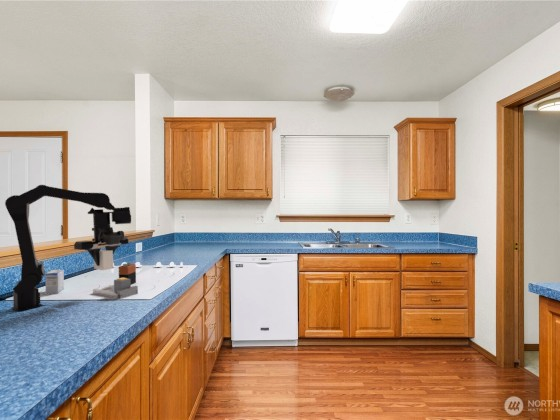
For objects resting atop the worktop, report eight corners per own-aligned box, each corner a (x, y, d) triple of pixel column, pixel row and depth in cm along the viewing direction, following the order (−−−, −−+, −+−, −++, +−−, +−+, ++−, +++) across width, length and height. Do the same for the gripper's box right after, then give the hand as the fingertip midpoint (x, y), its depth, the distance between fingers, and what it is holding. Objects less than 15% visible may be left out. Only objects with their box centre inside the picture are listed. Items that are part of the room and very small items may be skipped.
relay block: (121, 296, 120) (121, 280, 119) (114, 295, 122) (113, 279, 122) (130, 294, 123) (130, 277, 123) (123, 292, 125) (123, 276, 125)
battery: (118, 287, 136) (118, 264, 136) (127, 283, 143) (126, 261, 143) (128, 287, 136) (127, 264, 136) (136, 283, 142) (136, 261, 142)
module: (103, 270, 119) (102, 252, 119) (94, 269, 122) (93, 251, 122) (113, 268, 123) (112, 250, 123) (104, 267, 126) (103, 249, 126)
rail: (120, 300, 117) (120, 290, 117) (93, 294, 125) (92, 286, 125) (137, 294, 124) (137, 286, 124) (111, 290, 132) (110, 281, 132)
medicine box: (51, 290, 134) (51, 270, 133) (64, 289, 135) (63, 269, 135) (45, 295, 126) (44, 273, 126) (58, 293, 128) (58, 272, 128)
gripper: (89, 227, 110) (91, 271, 111) (136, 223, 127) (138, 261, 127) (72, 227, 116) (74, 268, 116) (119, 223, 132) (120, 260, 132)
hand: (103, 264), depth 123 cm, fingers closed on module, 4 cm apart
